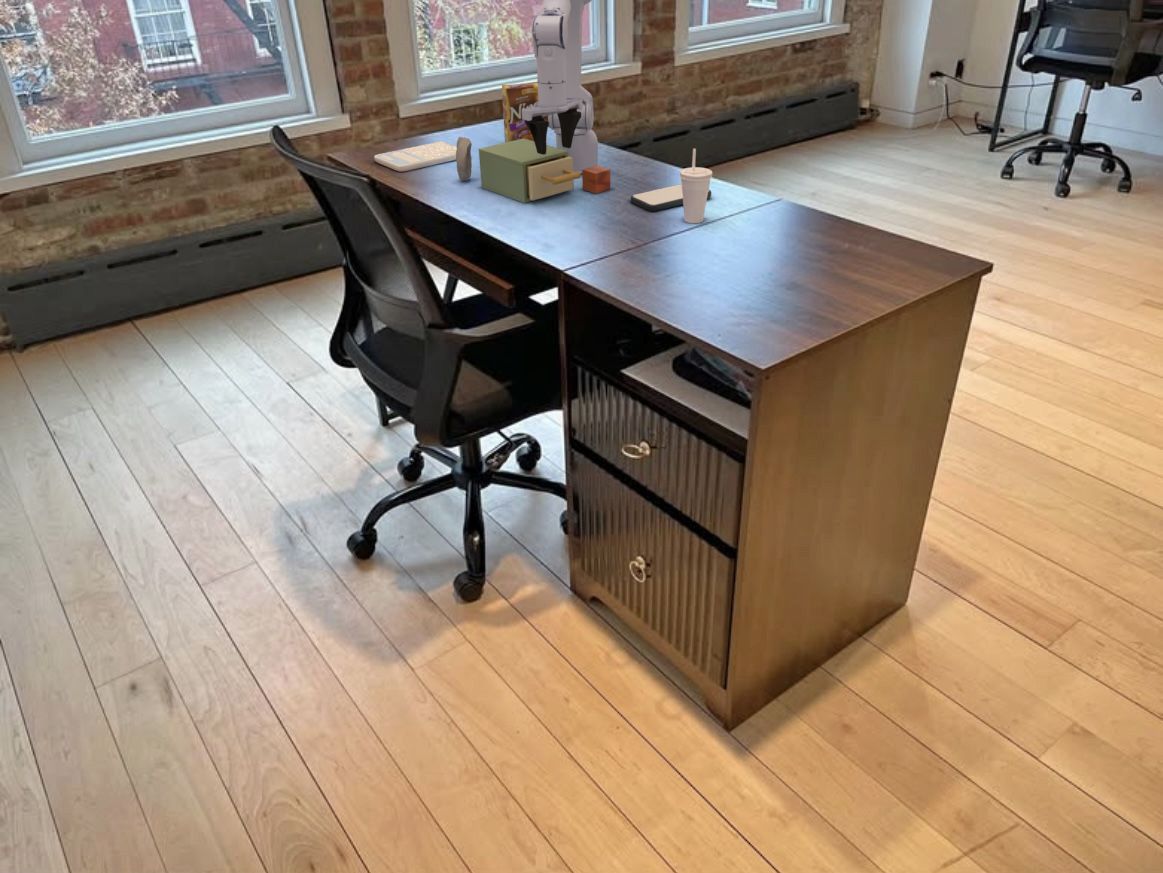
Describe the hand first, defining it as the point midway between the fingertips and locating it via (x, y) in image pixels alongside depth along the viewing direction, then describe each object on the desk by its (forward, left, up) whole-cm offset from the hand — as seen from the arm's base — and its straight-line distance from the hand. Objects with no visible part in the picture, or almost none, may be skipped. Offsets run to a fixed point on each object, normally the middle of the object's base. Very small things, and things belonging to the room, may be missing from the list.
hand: (554, 150), depth 183 cm
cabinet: (0, -11, -10) cm, 15 cm away
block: (-11, +1, -10) cm, 15 cm away
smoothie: (-11, +30, -11) cm, 33 cm away
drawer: (0, -6, -10) cm, 11 cm away
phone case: (-17, +18, -11) cm, 27 cm away
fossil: (+6, -25, -11) cm, 28 cm away
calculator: (+3, -48, -11) cm, 49 cm away
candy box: (-22, -39, -11) cm, 46 cm away
